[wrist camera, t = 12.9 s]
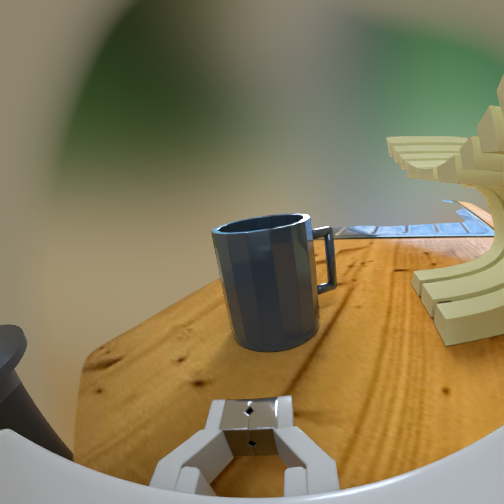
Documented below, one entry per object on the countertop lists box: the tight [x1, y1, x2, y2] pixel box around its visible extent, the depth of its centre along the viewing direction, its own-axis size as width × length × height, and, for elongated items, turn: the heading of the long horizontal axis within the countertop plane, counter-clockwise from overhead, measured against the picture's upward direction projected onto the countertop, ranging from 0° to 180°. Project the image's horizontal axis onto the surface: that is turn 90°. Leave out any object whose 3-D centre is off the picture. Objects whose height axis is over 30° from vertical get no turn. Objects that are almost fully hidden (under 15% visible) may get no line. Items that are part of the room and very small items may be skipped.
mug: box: [211, 214, 337, 352], centre depth 25 cm, size 11×8×10 cm
